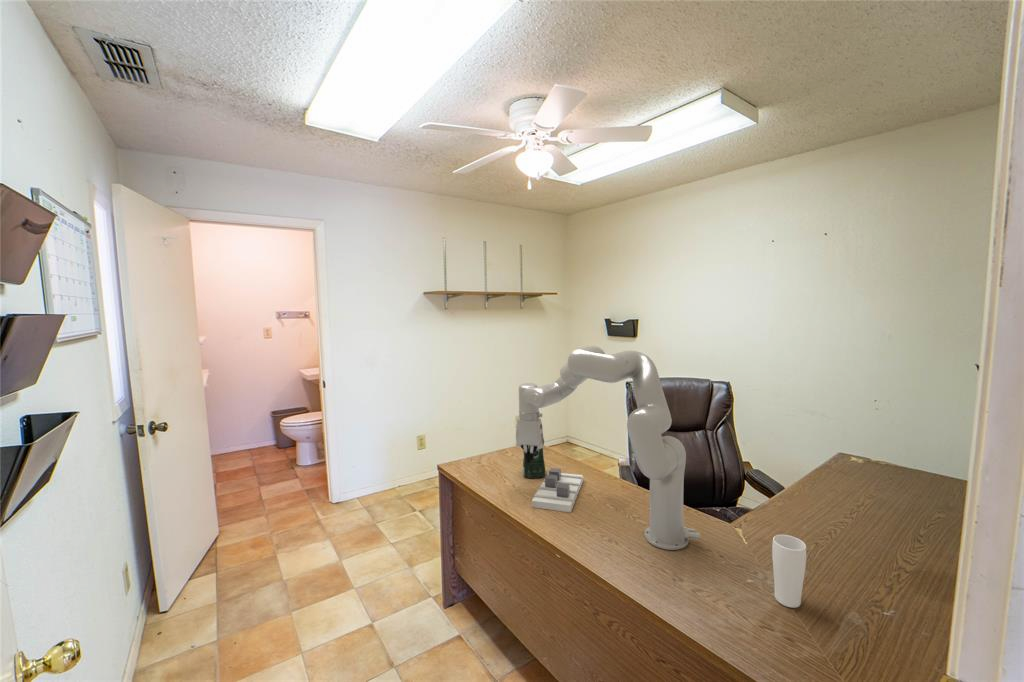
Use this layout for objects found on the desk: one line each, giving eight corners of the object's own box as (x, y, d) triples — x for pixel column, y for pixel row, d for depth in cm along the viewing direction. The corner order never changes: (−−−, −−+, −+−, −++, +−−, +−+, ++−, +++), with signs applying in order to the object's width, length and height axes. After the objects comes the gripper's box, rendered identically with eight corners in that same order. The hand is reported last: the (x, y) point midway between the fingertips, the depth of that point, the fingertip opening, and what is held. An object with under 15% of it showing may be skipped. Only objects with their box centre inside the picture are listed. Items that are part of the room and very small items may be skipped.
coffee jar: (545, 470, 183) (544, 429, 181) (545, 478, 175) (544, 435, 173) (522, 471, 183) (521, 429, 181) (522, 479, 175) (521, 435, 173)
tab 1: (561, 476, 169) (560, 468, 169) (559, 480, 166) (558, 472, 165) (551, 475, 170) (551, 467, 170) (549, 479, 167) (548, 471, 167)
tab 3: (569, 493, 155) (569, 484, 155) (567, 497, 152) (567, 488, 151) (558, 491, 156) (558, 483, 156) (556, 496, 153) (556, 487, 153)
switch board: (583, 481, 171) (583, 473, 171) (570, 512, 147) (570, 503, 146) (549, 477, 176) (549, 470, 175) (532, 507, 151) (531, 498, 151)
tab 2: (557, 483, 163) (557, 475, 163) (555, 487, 160) (555, 479, 159) (547, 482, 164) (547, 474, 164) (545, 486, 161) (544, 478, 161)
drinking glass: (791, 590, 105) (793, 533, 104) (811, 610, 98) (813, 549, 97) (764, 592, 105) (766, 534, 103) (783, 612, 98) (785, 551, 97)
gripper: (550, 414, 163) (550, 460, 165) (513, 411, 168) (514, 456, 170) (545, 420, 156) (546, 467, 158) (507, 417, 161) (508, 463, 163)
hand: (529, 461), depth 164 cm, fingers closed
